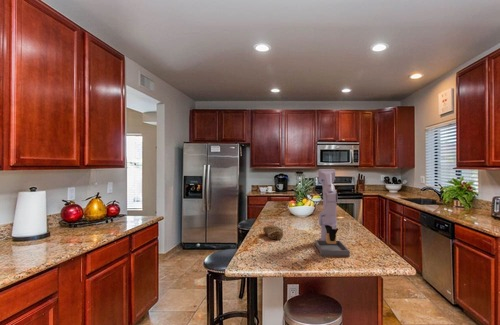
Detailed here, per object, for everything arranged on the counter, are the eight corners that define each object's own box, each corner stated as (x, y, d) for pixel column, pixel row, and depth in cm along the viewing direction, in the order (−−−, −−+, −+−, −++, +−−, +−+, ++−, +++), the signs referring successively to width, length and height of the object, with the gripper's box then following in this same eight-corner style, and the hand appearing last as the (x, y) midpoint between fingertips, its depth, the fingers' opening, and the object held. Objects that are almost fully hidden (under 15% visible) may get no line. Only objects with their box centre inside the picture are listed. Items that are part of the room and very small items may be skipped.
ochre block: (325, 241, 160) (325, 233, 160) (334, 241, 159) (334, 233, 159) (327, 243, 155) (327, 234, 155) (336, 243, 155) (336, 235, 155)
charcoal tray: (315, 245, 168) (315, 240, 168) (339, 245, 167) (339, 240, 167) (321, 256, 148) (321, 250, 148) (349, 256, 147) (349, 250, 147)
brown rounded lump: (284, 242, 181) (283, 228, 200) (282, 230, 179) (280, 218, 199) (264, 245, 182) (264, 232, 201) (261, 234, 180) (262, 221, 200)
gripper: (321, 212, 165) (321, 236, 165) (326, 216, 150) (326, 243, 150) (333, 212, 164) (333, 236, 164) (340, 216, 150) (340, 243, 150)
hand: (331, 239), depth 157 cm, fingers closed on ochre block, 5 cm apart
